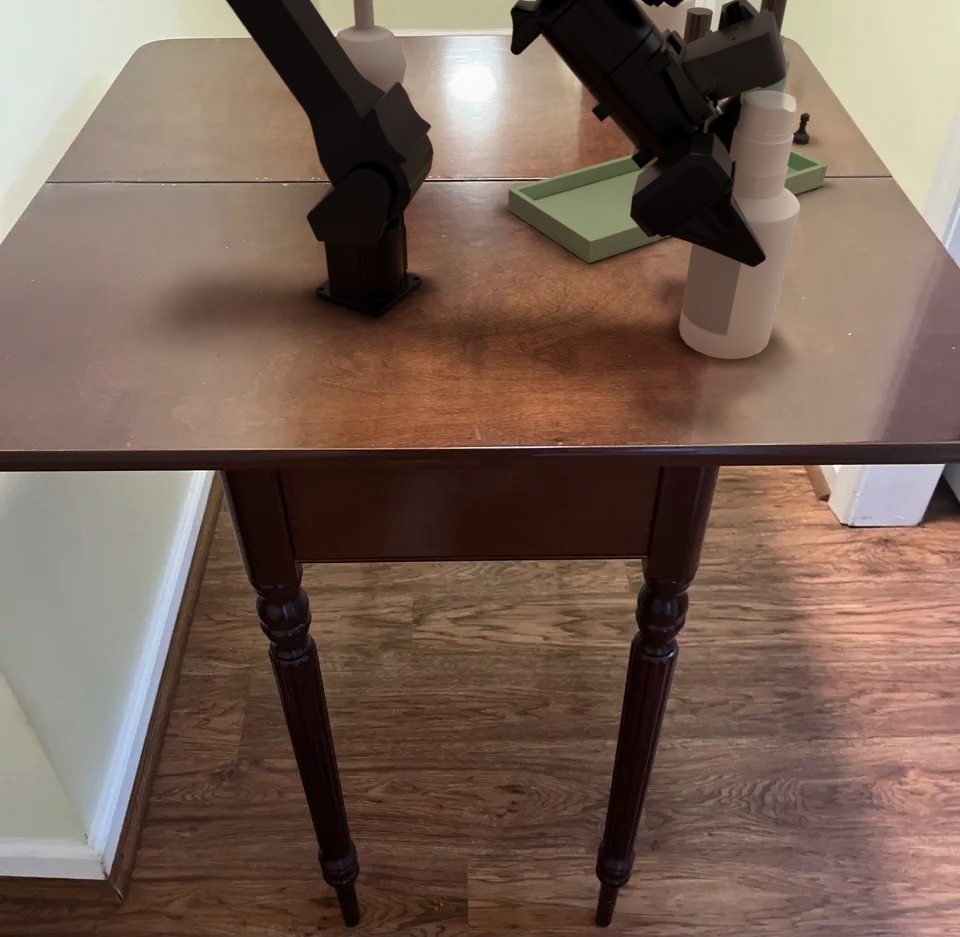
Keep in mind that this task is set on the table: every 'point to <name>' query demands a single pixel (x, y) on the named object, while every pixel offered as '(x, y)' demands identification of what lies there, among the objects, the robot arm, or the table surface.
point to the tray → (612, 204)
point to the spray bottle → (773, 218)
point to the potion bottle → (373, 48)
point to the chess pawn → (802, 131)
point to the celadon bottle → (777, 4)
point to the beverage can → (668, 15)
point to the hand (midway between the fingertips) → (761, 231)
